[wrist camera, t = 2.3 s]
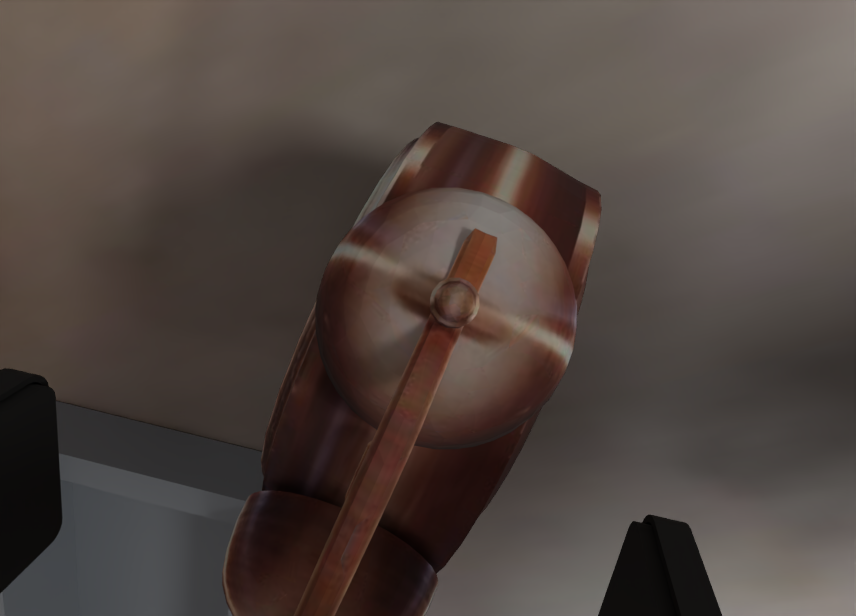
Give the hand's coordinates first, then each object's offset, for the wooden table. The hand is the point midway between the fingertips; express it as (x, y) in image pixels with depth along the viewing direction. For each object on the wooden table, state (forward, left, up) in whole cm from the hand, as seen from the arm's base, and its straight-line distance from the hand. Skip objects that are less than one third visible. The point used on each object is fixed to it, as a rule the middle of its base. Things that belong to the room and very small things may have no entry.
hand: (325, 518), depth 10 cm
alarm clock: (-1, 0, -13) cm, 13 cm away
